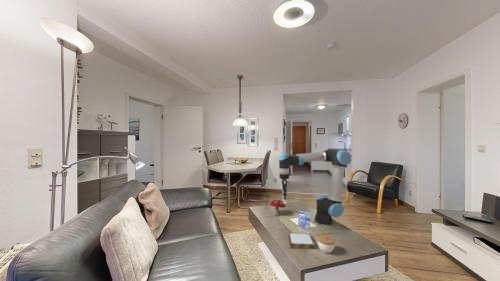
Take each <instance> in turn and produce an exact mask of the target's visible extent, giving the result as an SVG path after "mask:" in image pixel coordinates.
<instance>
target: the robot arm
mask: <svg viewBox="0 0 500 281" xmlns="http://www.w3.org/2000/svg"><path fill="white" fill-rule="evenodd" d="M309 162H310V163H311V162H323V163H324V162H325V163H326V162H327V163H331V166H332V174H331V180H330V186H329V194H318V195H316V199H315V200H316V212H315V215H314V222H315V223H317V224H320V225H324V226H328V225H332V224H333V222H334V221H333V218H339V217H341V216H342V215H343V214H344V210H345V208H344V206H343V204H342V203H343V200H342V199H341V195H342V189H343V182H344V175H345V169H347V168H348V166H349V165H350V164H351V162H352V156H351V154H350V152H349V151H348V150H344V149H326V150H321V151H320V152H319V151H317V152H306V153H295V154H293V153H292V154H290V153H280V154H279V158H278V163H279V164H278V166H279V167H278V171H279V172H278V173H279V174H278V175H279V180H280V179H281V187H282V194H281V196H282V202H283V204H285V205H286V204H287V203H288V199H287V198H288V197H287V196H288V193H287V192H288V190H287V187H288V184H287V183H288V180H289V179H290V166H303V165H304V163H309Z"/></svg>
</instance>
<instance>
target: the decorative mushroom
mask: <svg viewBox="0 0 500 281" xmlns="http://www.w3.org/2000/svg"><path fill="white" fill-rule="evenodd" d="M268 203H269V204H268V205H269V206H271V207H275V208H274V212H273V213H274V216H276V217H277V216H280V214H281V213H280V209H279V208H286V204H283V200H281V199H279V198H277V199H273V200H272V201H270V202H268Z"/></svg>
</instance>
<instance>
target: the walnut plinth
mask: <svg viewBox="0 0 500 281" xmlns="http://www.w3.org/2000/svg"><path fill="white" fill-rule="evenodd" d="M287 236H288V243H289V248H290V249H297V250H298V249H303V250H305V249H306V250H316V245H315V242H314V240H313V237H312V236H311V233H305V232H288V233H287Z"/></svg>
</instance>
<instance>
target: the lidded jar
mask: <svg viewBox="0 0 500 281" xmlns="http://www.w3.org/2000/svg"><path fill="white" fill-rule="evenodd" d="M317 244H318V245H317V246H318V248H319V249H320V250H321V252H322V253H325V254H331V253H332V252H333V251H334V250H335V247H336V240H335V238H334V237H333V236H330V235H326V234H322V235H318V237H317Z"/></svg>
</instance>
